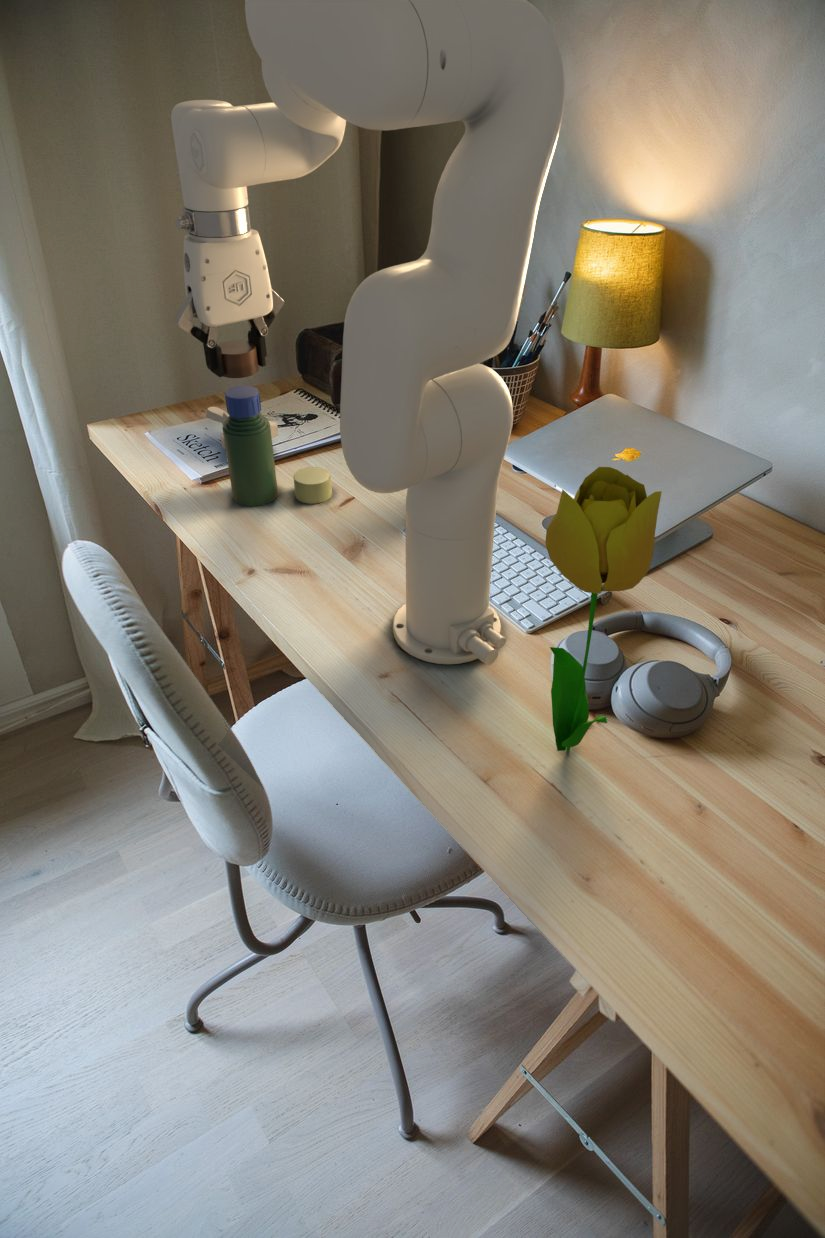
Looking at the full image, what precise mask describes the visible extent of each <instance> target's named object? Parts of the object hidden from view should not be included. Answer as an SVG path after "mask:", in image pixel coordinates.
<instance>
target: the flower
mask: <svg viewBox="0 0 825 1238" xmlns="http://www.w3.org/2000/svg"><path fill="white" fill-rule="evenodd" d="M647 494H648V493H647V491H646V487H645V484H643V483H641V482H638V481H637V480H635V479H634V478H632V476H629V475H628V474H625V473H623V471H620V470H618V469H617V468H614V467H611V466H598V467H597V468H596V469H594V470H593V471H592V472H591V473H589V474H588V475H587V476H586V477H584V478H583V481H582V483H581V484H580V485H579V487H578V489H577V491H576V493H575V495H574V497H572V496H571V495H569V493H568V492H566V491H565V490H564V489H562V490H561V493H560V498H559V502H558V506H557V510H556V513H555V515H554V516H553V518H552V519H551V521H550V523H549V525H548V526H547V528H546V533H545V542H544V543H545V548H546V549H547V550H546V551H547V554H548V558H549V560H550V561H551V562H552V564H553V565H554V566H555V568H556V569H557V570H558V571H559V573H560V574H561V575H562V577H564V578H565V579H566V580H568V582H570V583H571V584H572V585H573V586H574V587H576V588H577V589H579V590H581V591H582V592H584V593H589V594H590V605H589V616H588V617H589V618H588V627H587V635H586V636H587V637H586V645H585V652H584V659H583V665H582V664H581V663H580V662H579V660H577V658H575V657H574V655H573V654H571V653H570V652H569V651H567V649H565V648H564V647H555V646H554V647H552V646H550V647H549V649H550V650H551V652H552V654H553V665H552V682H551V689H550V697H551V698H550V699H551V712H552V715H551V716H552V726H553V728H552V729H553V733H554V738H555V746H556V751H557V752H563V751H566V752H567V753H569V752H571V748H574V747H576V746H579V744H580V743H581V742H582V740H583V738H584V737H585V735H586V734H587V732H588V730H589V729H590V727H591V726H592V725H593V724H594V723H595V722H597V723H602V724H608V720H607V717H606V716H603V715H602V716H597V717H595V718H593V719H592V720H589V718H590V708H589V701H588V694H587V686H586V679H585V678H586V670H587V666H588V665H587V664H588V658H589V652H590V646H591V640H592V633H593V628H594V620H595V614H596V608H597V601H598V595H600V594H601V593H602V592H622V591H623V592H624V591H628V590H632V589H634V588H635V587H636V586H637V585H638V584H639V583H641V581H642V580H643V579H644V578H645V577H646V575H647V574H648V572H649V571H650V568H651V564H652V560H653V556H654V549H655V548H654V547H655V540H656V539H655V538H656V537H655V536H656V529H657V521H658V514H659V508H660V502H661V499H662V498H661V497H662V490H661V491H654V492H652V493H651V494H649V495H647Z"/></svg>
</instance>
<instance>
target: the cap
mask: <svg viewBox="0 0 825 1238" xmlns="http://www.w3.org/2000/svg"><path fill="white" fill-rule="evenodd" d="M224 399H225V405H226V406H225V407H226V411H227V413H228V414H229V415H230V416H232V417H235V418H249V417H253V416H256V415H257V414H259V413H261V412H262V405H261V396H260V391H259V389H258V388H257V387H255V386H252V385H235V386H232V387H230V388H227V389H226V390H225V392H224Z"/></svg>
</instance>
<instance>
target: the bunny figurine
mask: <svg viewBox="0 0 825 1238" xmlns="http://www.w3.org/2000/svg"><path fill="white" fill-rule="evenodd" d="M228 417H229V414H228V413H227V410H223V409H221V407H217V406H209V407H207V410H206V413H205V418H207V419H209V420H212V421H216V422H219V423H221V425H222V426H223V424H224V422H225V421H226V419H227V418H228ZM268 421H269V423H270V428H271V437H272V439H274V438H277V437H278V436H279V426H278V423H277V422H276V421H272V420H271V421H270V420H268ZM220 443H221V448H222V449H224V450H226V449H225V442H224V436H223V433H221V434H220Z"/></svg>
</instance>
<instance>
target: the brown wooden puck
mask: <svg viewBox="0 0 825 1238" xmlns="http://www.w3.org/2000/svg"><path fill="white" fill-rule="evenodd" d="M217 345H218V346H220V347H221V351H222V358H223V365H224V372H225V375H224V376H223V377H222V378H228V379H243V378H248V377H251V376H254V375H256V374H257V373H258V372H259V371H260V370H259V368H260V367H259V365H258V359H257V351H256V345H255V344H254V343H253V342H250V341H248V340H244V339H232V340H231V339H230V340H226V341H223V342H220V343H217Z"/></svg>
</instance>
